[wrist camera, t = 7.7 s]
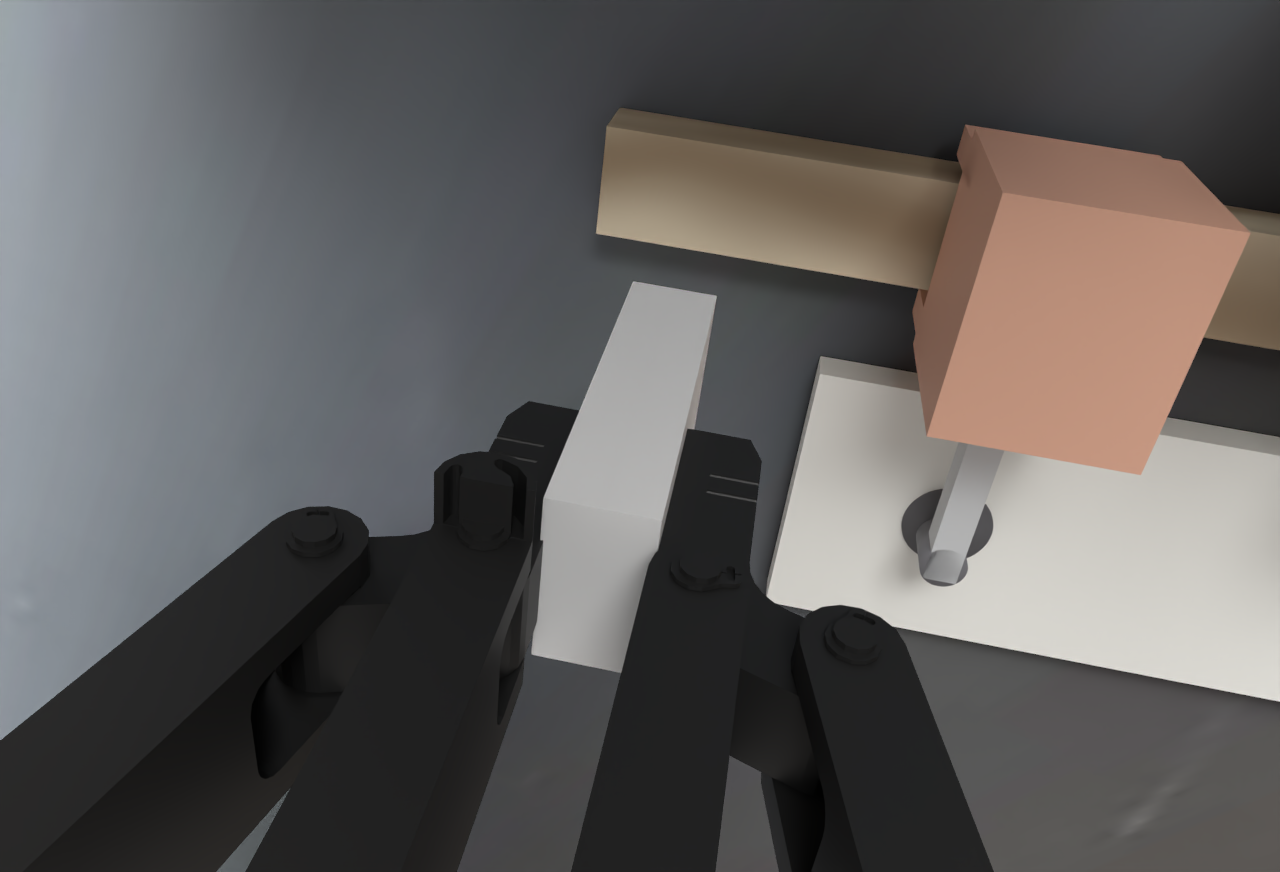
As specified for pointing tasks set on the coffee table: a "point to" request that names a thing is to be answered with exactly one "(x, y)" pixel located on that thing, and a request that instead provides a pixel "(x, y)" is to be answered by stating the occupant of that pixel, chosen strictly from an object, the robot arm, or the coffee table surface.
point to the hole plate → (1042, 540)
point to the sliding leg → (1060, 314)
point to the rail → (839, 209)
